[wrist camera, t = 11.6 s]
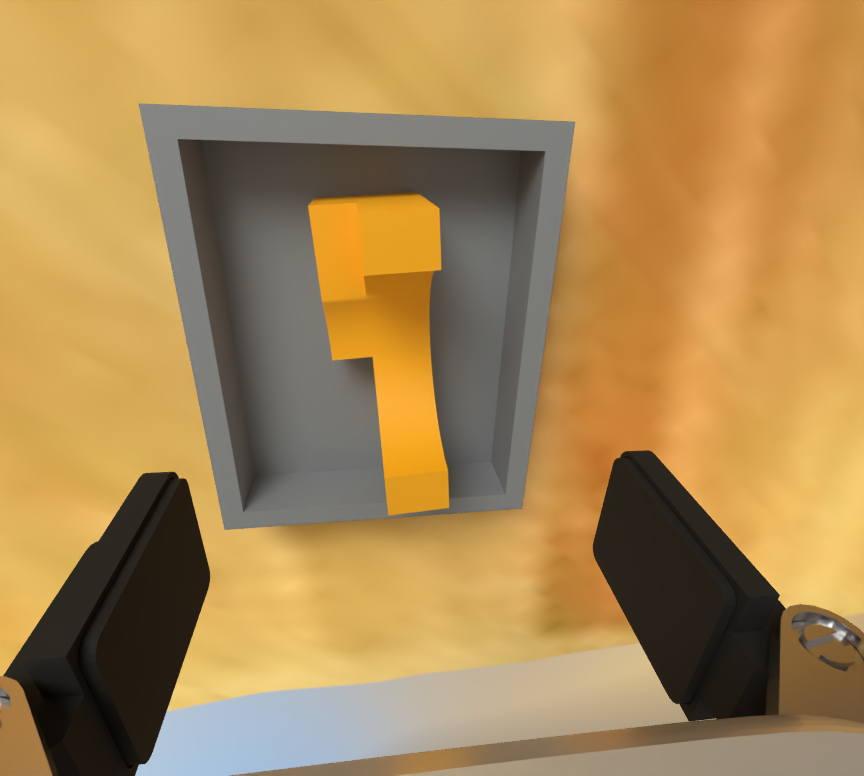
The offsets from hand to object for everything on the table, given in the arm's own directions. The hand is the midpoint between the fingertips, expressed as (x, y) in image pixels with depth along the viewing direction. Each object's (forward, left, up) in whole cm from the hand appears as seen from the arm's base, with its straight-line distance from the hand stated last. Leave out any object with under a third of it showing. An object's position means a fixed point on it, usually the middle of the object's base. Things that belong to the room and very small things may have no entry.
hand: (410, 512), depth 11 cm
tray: (0, +1, -15) cm, 15 cm away
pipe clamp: (0, +1, -14) cm, 14 cm away
